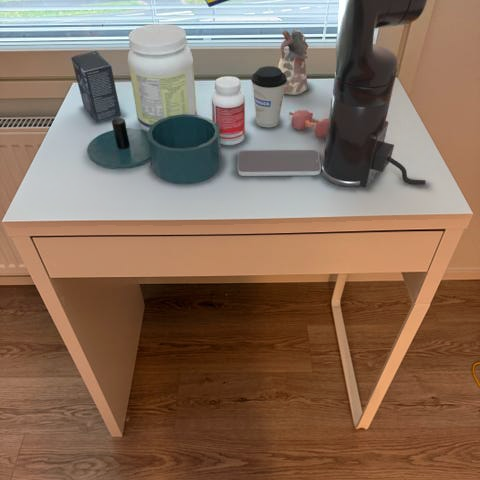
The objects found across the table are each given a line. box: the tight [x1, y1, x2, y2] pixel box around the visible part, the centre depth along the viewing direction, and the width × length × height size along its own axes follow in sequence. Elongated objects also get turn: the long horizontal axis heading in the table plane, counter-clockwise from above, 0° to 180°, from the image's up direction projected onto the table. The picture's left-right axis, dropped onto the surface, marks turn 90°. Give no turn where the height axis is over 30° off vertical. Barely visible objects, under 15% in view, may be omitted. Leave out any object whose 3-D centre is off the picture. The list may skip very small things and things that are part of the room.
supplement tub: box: [127, 23, 198, 131], centre depth 95 cm, size 12×12×17 cm
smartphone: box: [237, 149, 322, 177], centre depth 90 cm, size 7×1×15 cm
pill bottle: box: [211, 75, 246, 146], centre depth 93 cm, size 6×6×11 cm
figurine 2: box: [288, 109, 329, 139], centre depth 98 cm, size 12×3×7 cm
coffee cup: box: [250, 65, 287, 128], centre depth 97 cm, size 7×7×10 cm
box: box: [70, 50, 122, 123], centre depth 101 cm, size 8×6×11 cm
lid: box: [86, 117, 151, 169], centre depth 92 cm, size 14×14×6 cm
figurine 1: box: [277, 28, 309, 96], centre depth 107 cm, size 7×7×12 cm
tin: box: [147, 114, 222, 185], centre depth 89 cm, size 13×13×6 cm
